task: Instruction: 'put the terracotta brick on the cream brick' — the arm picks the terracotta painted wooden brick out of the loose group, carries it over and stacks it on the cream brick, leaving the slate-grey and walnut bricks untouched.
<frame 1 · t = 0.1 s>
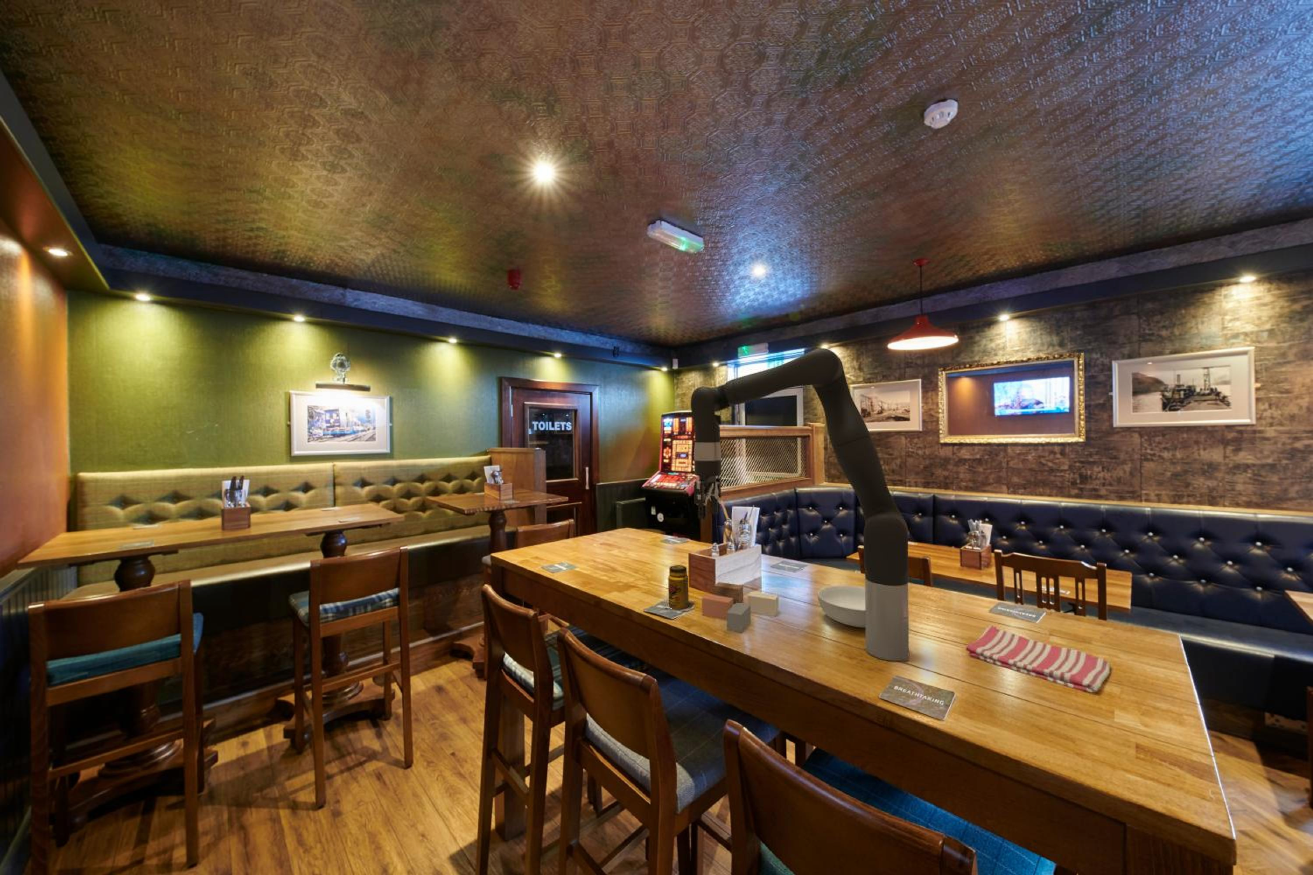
hand: (708, 516, 134), 29 cm above the table, fingers open, 8 cm apart
cream brick: (763, 612, 140), on the table
terracotta brick: (717, 615, 138), on the table
slate brick: (739, 626, 130), on the table
walnut brick: (728, 601, 149), on the table
condiment: (679, 606, 146), on the table
serving bowl: (857, 621, 132), on the table
dish towel: (1036, 664, 108), on the table
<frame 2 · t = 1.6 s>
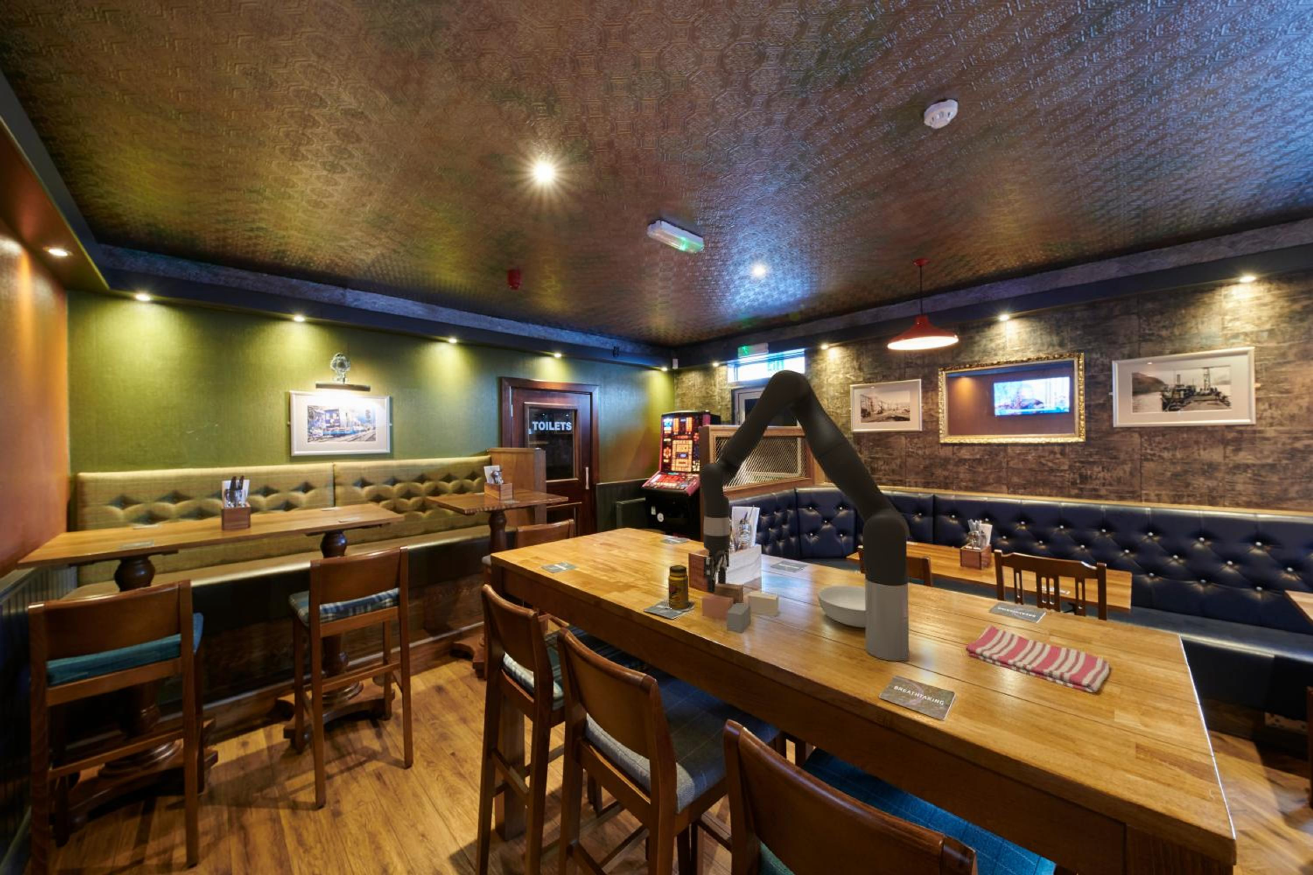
hand: (716, 587, 138), 8 cm above the table, fingers open, 8 cm apart
nothing on the table moved.
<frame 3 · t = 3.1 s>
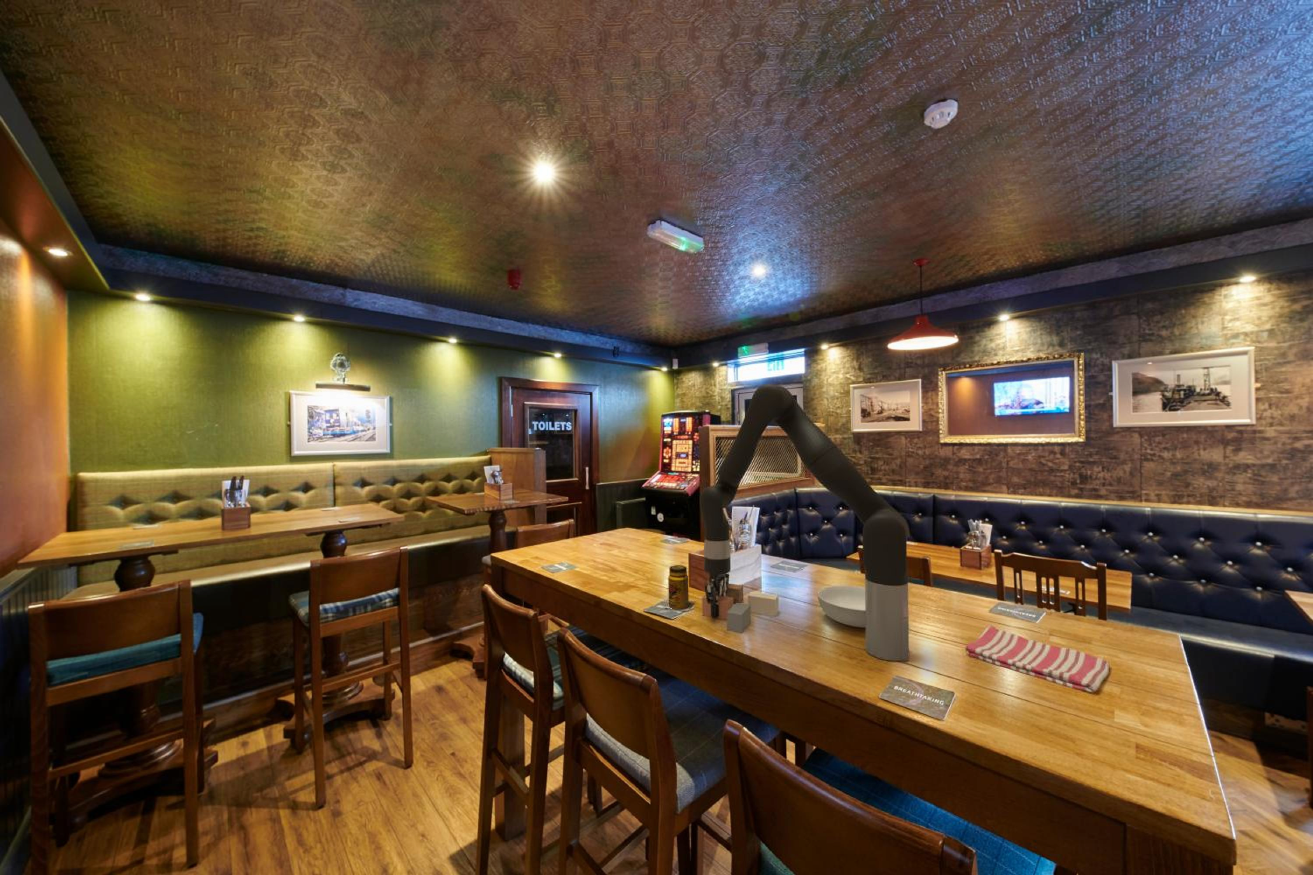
hand: (717, 613, 138), 0 cm above the table, fingers closed on terracotta brick, 4 cm apart
terracotta brick: (717, 614, 138), on the table, touching gripper
everything else where it was.
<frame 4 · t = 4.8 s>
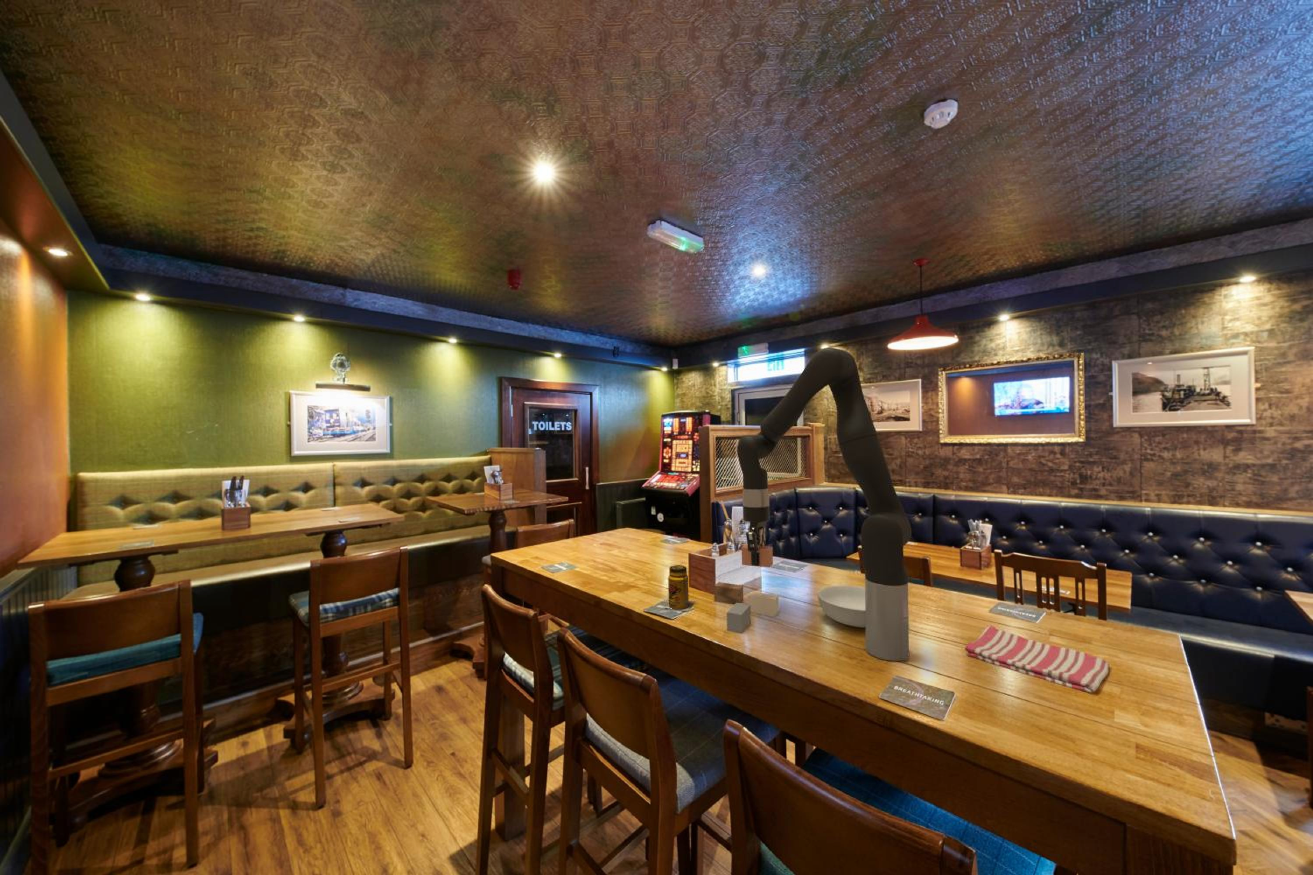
hand: (757, 563, 138), 15 cm above the table, fingers closed on terracotta brick, 4 cm apart
terracotta brick: (757, 564, 138), point 14 cm above the table, touching gripper
everything else where it was.
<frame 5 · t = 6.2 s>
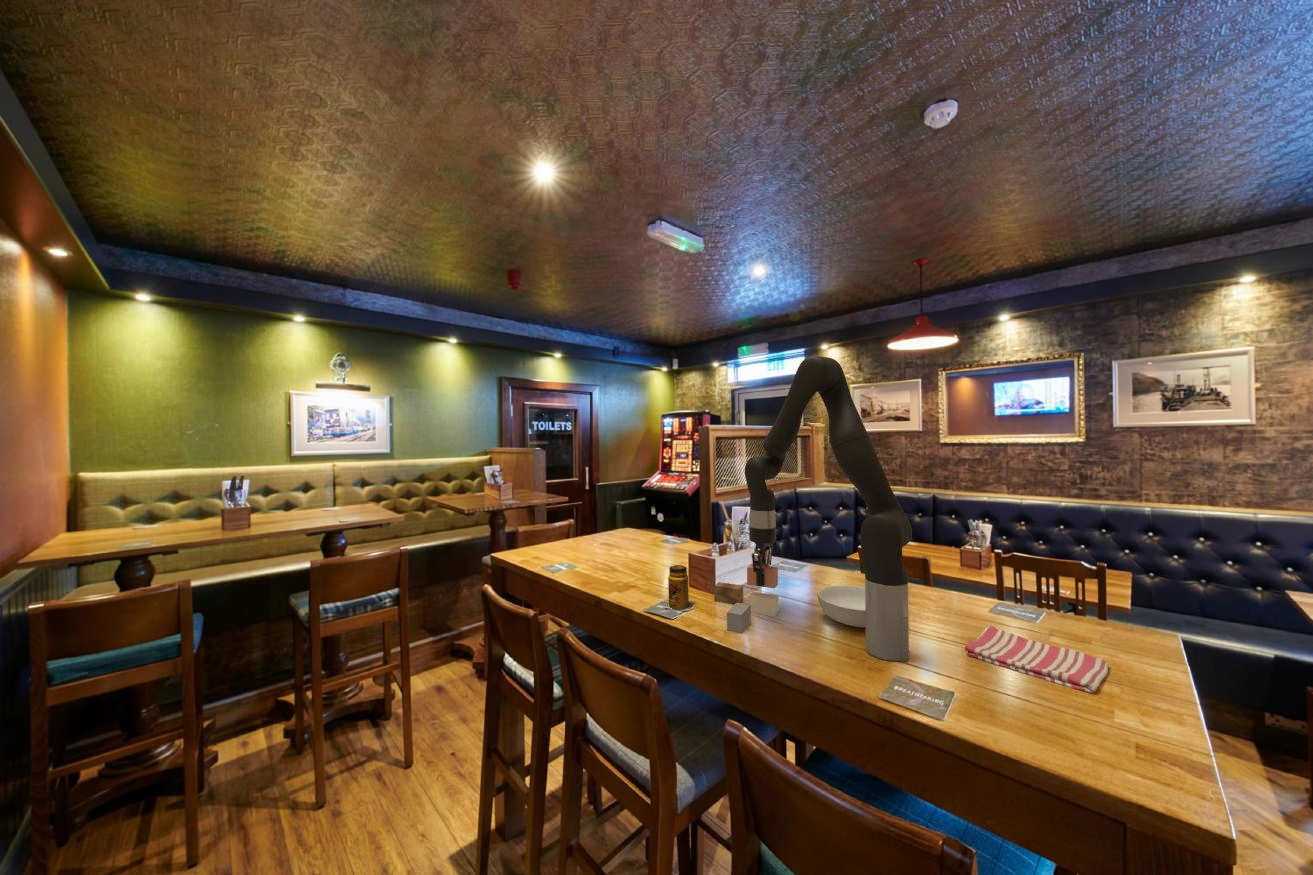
hand: (762, 583, 139), 8 cm above the table, fingers closed on terracotta brick, 4 cm apart
terracotta brick: (762, 584, 139), point 8 cm above the table, touching gripper
everything else where it was.
when the fingers open (7 cm above the table, at t = 6.9 s): terracotta brick drops 1 cm, resting on cream brick.
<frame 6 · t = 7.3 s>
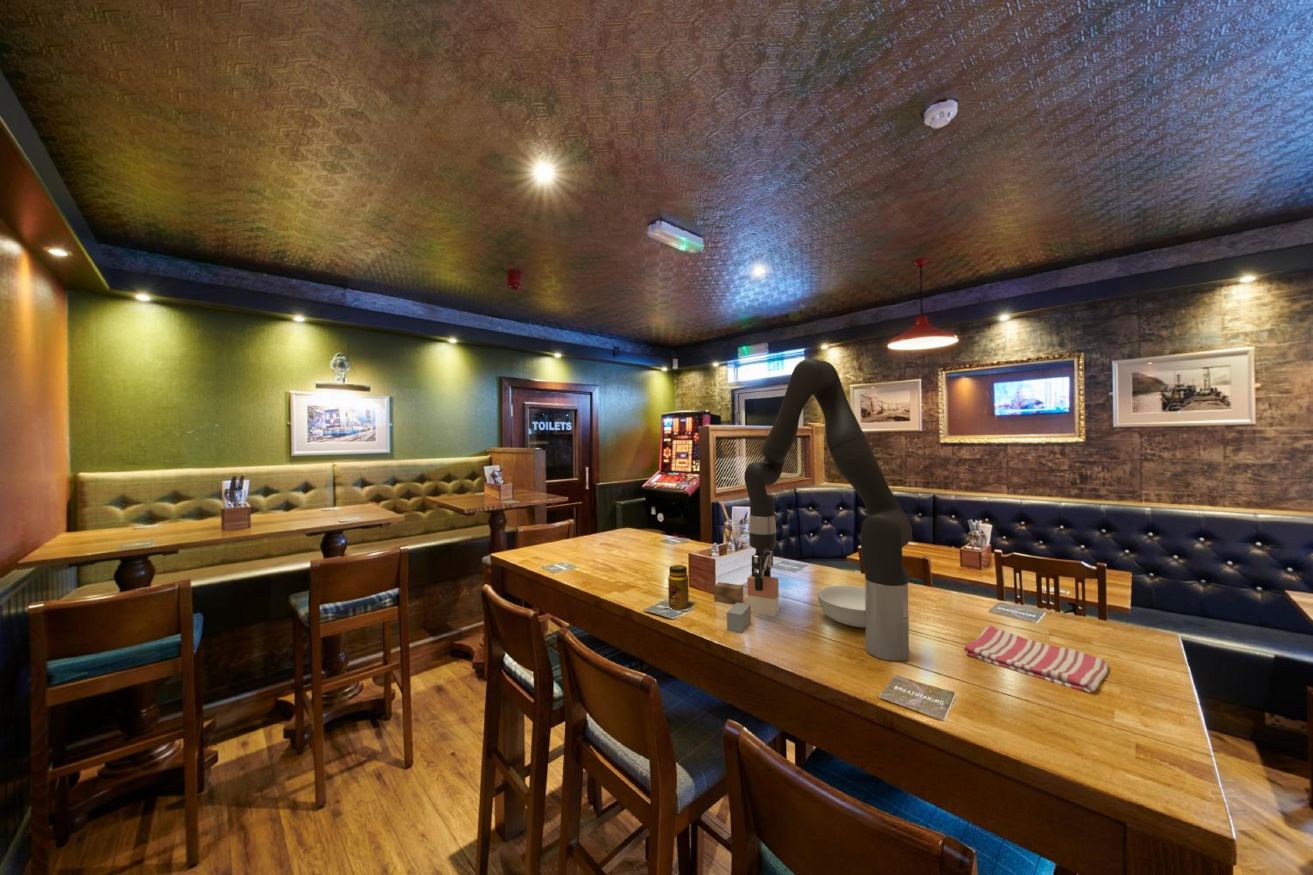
hand: (763, 586, 139), 8 cm above the table, fingers open, 8 cm apart
cream brick: (763, 612, 140), on the table, touching terracotta brick
terracotta brick: (763, 595, 139), point 5 cm above the table, touching cream brick
everything else where it was.
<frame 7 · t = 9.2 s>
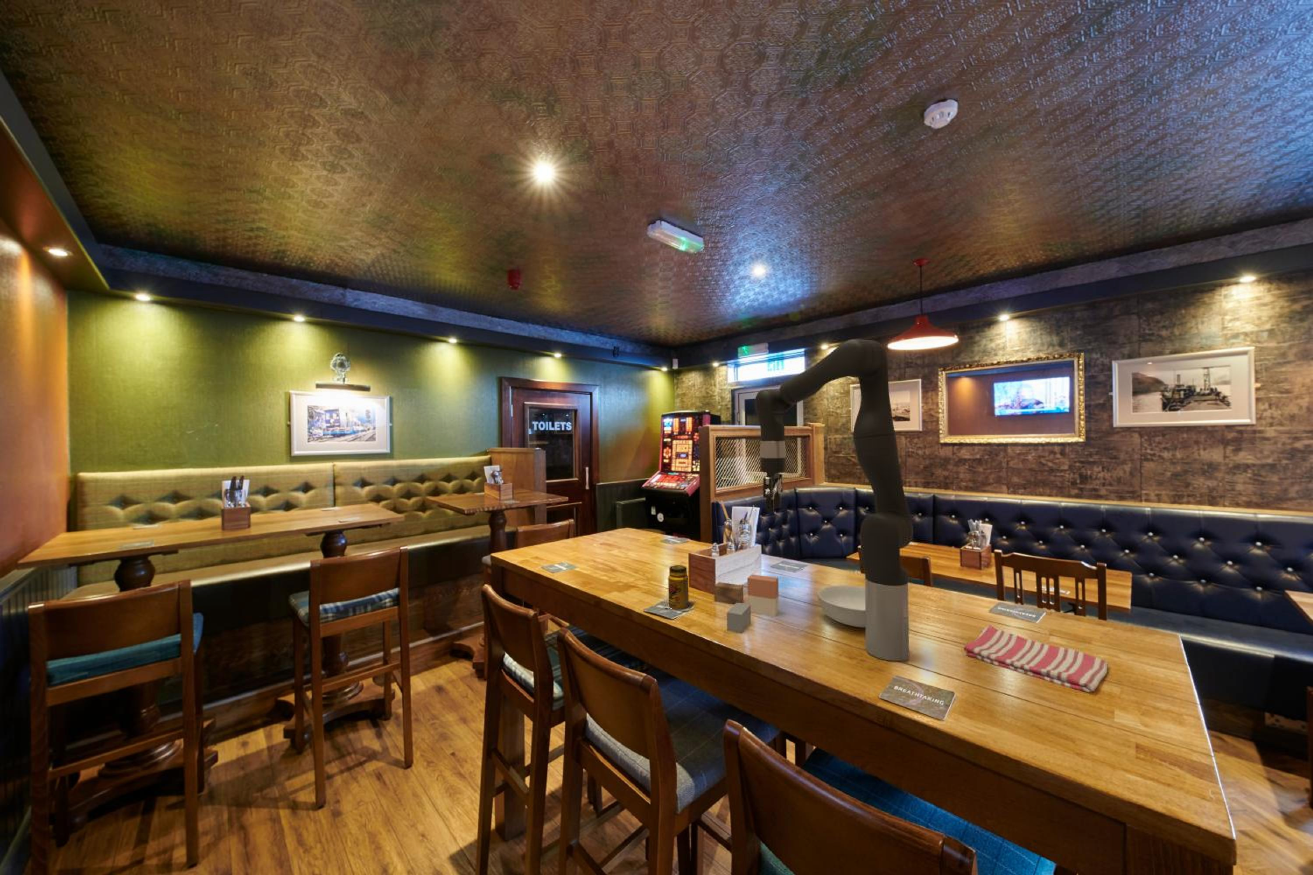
hand: (773, 509, 144), 29 cm above the table, fingers open, 8 cm apart
nothing on the table moved.
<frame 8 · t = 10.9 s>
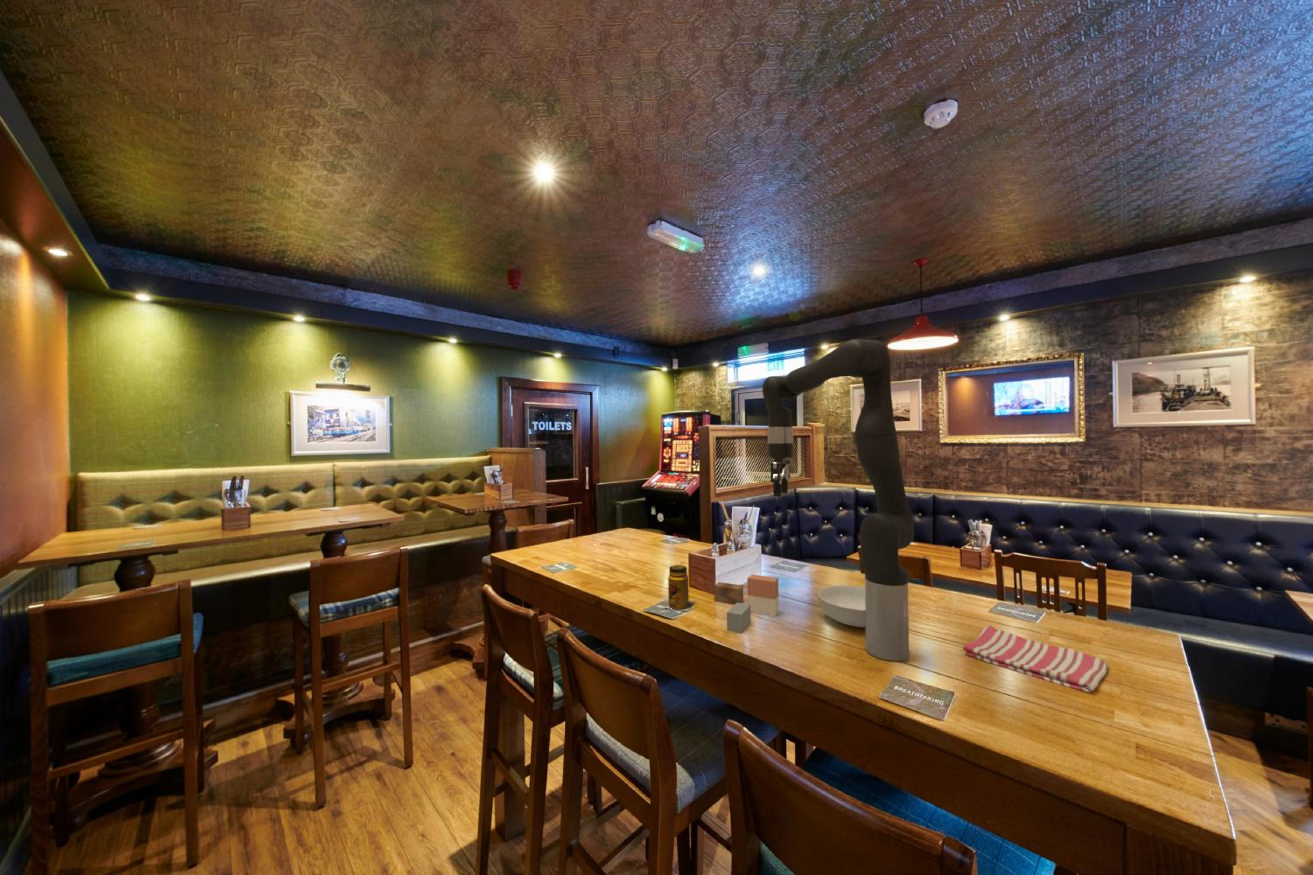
hand: (780, 494, 147), 33 cm above the table, fingers open, 8 cm apart
nothing on the table moved.
at the end: terracotta brick 0.1 cm off-centre on the cream brick, point 5.0 cm above the cream brick's base; slate brick moved 0.2 cm from its start; walnut brick moved 0.2 cm from its start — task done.
